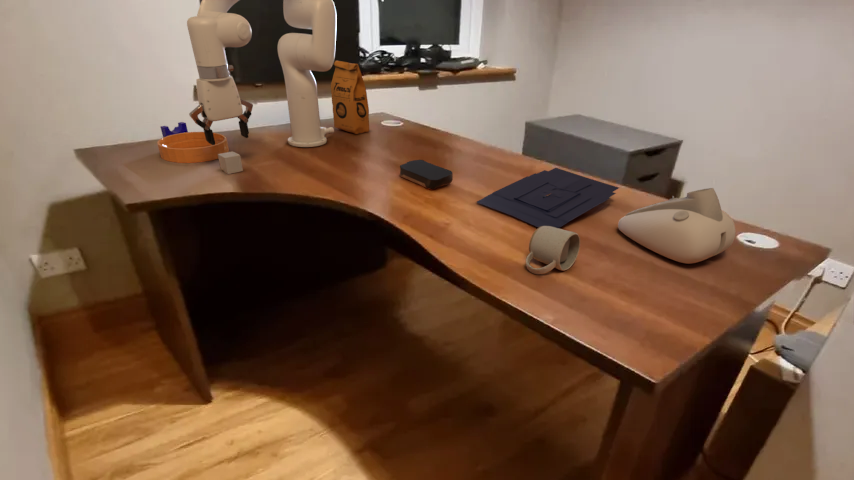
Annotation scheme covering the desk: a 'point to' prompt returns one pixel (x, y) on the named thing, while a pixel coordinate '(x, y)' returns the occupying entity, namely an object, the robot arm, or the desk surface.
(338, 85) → the coffee package
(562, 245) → the ceramic mug
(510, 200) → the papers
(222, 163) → the block
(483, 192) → the desk surface
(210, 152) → the bowl
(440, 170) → the black sponge
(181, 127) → the cable holder
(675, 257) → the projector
